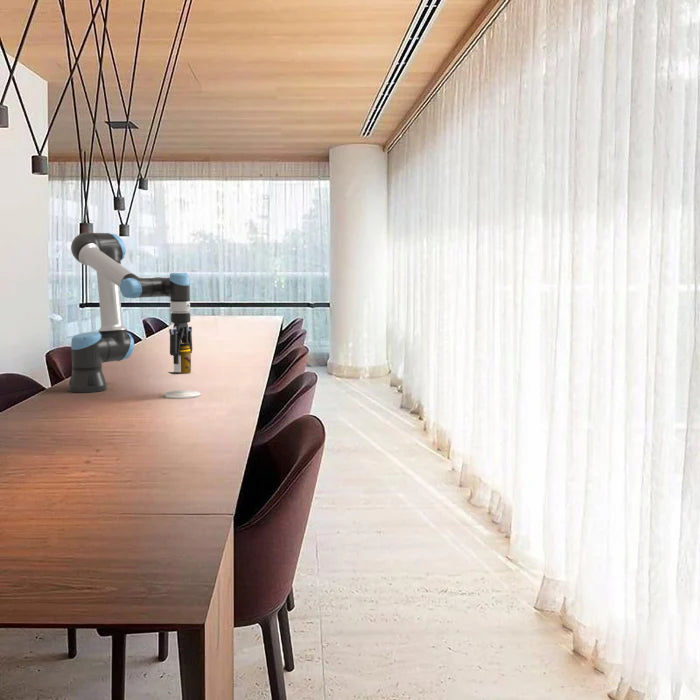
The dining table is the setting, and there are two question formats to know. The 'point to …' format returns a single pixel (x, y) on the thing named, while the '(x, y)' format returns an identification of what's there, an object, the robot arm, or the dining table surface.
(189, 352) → the condiment
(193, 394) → the plate
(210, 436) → the dining table surface
